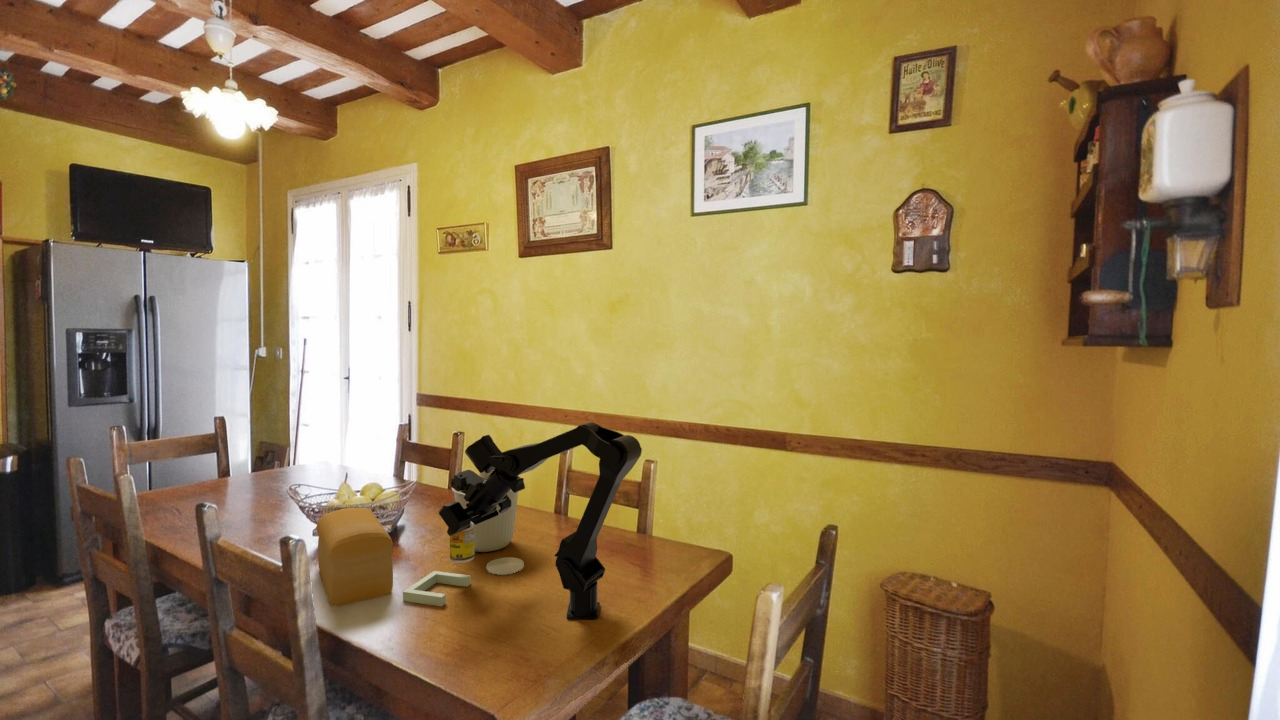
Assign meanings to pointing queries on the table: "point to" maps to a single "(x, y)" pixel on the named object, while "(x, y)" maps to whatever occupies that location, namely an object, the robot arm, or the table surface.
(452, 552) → the supplement bottle
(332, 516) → the bread
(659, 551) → the table surface
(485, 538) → the canister
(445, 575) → the pale green u-shaped bracket
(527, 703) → the table surface
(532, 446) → the robot arm
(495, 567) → the coaster
